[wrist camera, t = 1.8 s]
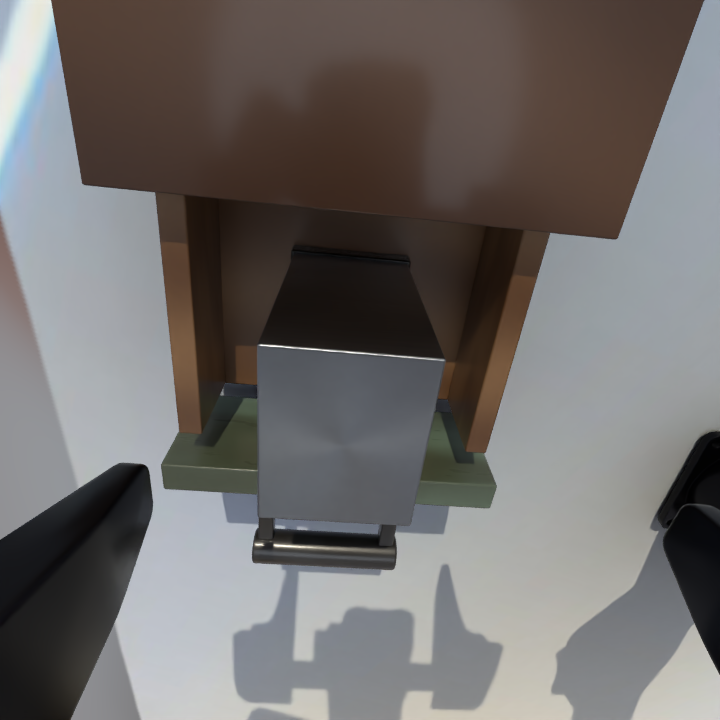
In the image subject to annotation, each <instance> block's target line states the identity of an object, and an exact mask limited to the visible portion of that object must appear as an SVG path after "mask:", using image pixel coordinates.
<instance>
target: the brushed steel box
mask: <svg viewBox="0 0 720 720" xmlns="http://www.w3.org/2000/svg"><path fill="white" fill-rule="evenodd" d="M410 265H411V261H410V259H409V257H408V256H406V255H396V254H386V253H376V252H365V251H355V250H345V249H334V248H324V247H314V246H303V245H294V246H293V248H292V250H291V263H290V265H289V268H288V270H287V273H286V275H285V278H284V280H283V282H282V285H281V287H280V290H279V292H278V295H277V297H276V300H275V302H274V305H273V307H272V310H271V312H270V315H269V317H268V320H267V322H266V325H265V327H264V330H263V332H262V335H261V337H260V340H259V342H258V345H257V511H258V517H260V518H278V519H295V520H313V521H330V522H348V523H366V524H383V525H401V526H410V524H411V520H412V515H413V511H414V506H415V502H416V497H417V492H418V488H419V483H420V478H421V474H422V469H423V465H424V460H425V455H426V451H427V446H428V441H429V437H430V432H431V427H432V423H433V418H434V414H435V409H436V404H437V400H438V395H439V390H440V386H441V381H442V377H443V372H444V367H445V363H446V359H445V357H444V354H443V352H442V349H441V347H440V344H439V342H438V339H437V337H436V334H435V332H434V329H433V327H432V324H431V322H430V319H429V317H428V314H427V312H426V309H425V307H424V304H423V302H422V299H421V297H420V294H419V292H418V289H417V287H416V284H415V282H414V279H413V277H412V274H411V272H410Z"/></svg>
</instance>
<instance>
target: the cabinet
mask: <svg viewBox="0 0 720 720" xmlns="http://www.w3.org/2000/svg"><path fill="white" fill-rule="evenodd" d="M51 2H52V8H53V14H54V19H55V25H56V31H57V37H58V43H59V49H60V55H61V61H62V67H63V73H64V78H65V84H66V90H67V96H68V102H69V108H70V114H71V120H72V126H73V132H74V137H75V143H76V149H77V155H78V161H79V167H80V173H81V179H82V183H83V184H84V185H89V186H99V187H108V188H118V189H128V190H138V191H147V192H157V193H167V194H177V195H186V196H196V197H206V198H216V199H225V200H235V201H245V202H254V203H264V204H274V205H284V206H293V207H303V208H313V209H323V210H332V211H342V212H352V213H362V214H371V215H381V216H391V217H401V218H410V219H420V220H430V221H440V222H449V223H459V224H469V225H479V226H488V227H498V228H508V229H518V230H527V231H537V232H547V233H557V234H566V235H576V236H586V237H596V238H605V239H617V238H618V236H619V233H620V230H621V228H622V225H623V222H624V219H625V217H626V214H627V211H628V208H629V206H630V203H631V200H632V197H633V195H634V192H635V189H636V186H637V184H638V181H639V178H640V175H641V173H642V170H643V167H644V164H645V161H646V159H647V156H648V153H649V150H650V148H651V145H652V142H653V139H654V137H655V134H656V131H657V128H658V126H659V123H660V120H661V117H662V115H663V112H664V109H665V106H666V104H667V101H668V98H669V95H670V93H671V90H672V87H673V84H674V82H675V79H676V76H677V73H678V71H679V68H680V65H681V62H682V60H683V57H684V54H685V51H686V49H687V46H688V43H689V40H690V38H691V35H692V32H693V29H694V26H695V24H696V21H697V18H698V15H699V13H700V10H701V7H702V4H703V2H704V0H51Z"/></svg>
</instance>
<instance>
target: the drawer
mask: <svg viewBox="0 0 720 720" xmlns="http://www.w3.org/2000/svg"><path fill="white" fill-rule="evenodd" d="M155 194H156V204H157V214H158V224H159V234H160V244H161V254H162V264H163V274H164V284H165V294H166V304H167V314H168V324H169V334H170V344H171V354H172V364H173V374H174V384H175V394H176V404H177V413H178V423H179V432H178V434H177V436H176V438H175V440H174V442H173V444H172V445H171V447H170V449H169V451H168V453H167V455H166V457H165V458H164V460H163V462H162V464H161V469H162V476H163V484H164V488H165V489H175V490H192V491H208V492H225V493H241V494H257V398H246V397H233V396H220V394H221V392H222V389H223V387H224V385H225V383H235V384H249V385H257V345H258V342H259V340H260V337H261V335H262V332H263V330H264V327H265V325H266V322H267V320H268V317H269V315H270V312H271V310H272V307H273V305H274V302H275V300H276V297H277V295H278V292H279V290H280V287H281V285H282V282H283V280H284V278H285V275H286V273H287V270H288V268H289V265H290V263H291V250H292V248H293V246H294V245H303V246H314V247H324V248H334V249H345V250H355V251H365V252H376V253H386V254H396V255H406V256H408V257H409V259H410V261H411V265H410V272H411V274H412V277H413V279H414V282H415V284H416V287H417V289H418V292H419V294H420V297H421V299H422V302H423V304H424V307H425V309H426V312H427V314H428V317H429V319H430V322H431V324H432V327H433V329H434V332H435V334H436V337H437V339H438V342H439V344H440V347H441V349H442V352H443V354H444V357H445V359H446V363H445V367H444V372H443V377H442V381H441V386H440V390H439V395H438V399H446V400H448V403H449V406H450V409H451V412H452V413H448V412H435V414H434V418H433V423H432V427H431V432H430V437H429V441H428V446H427V451H426V455H425V460H424V465H423V469H422V474H421V478H420V483H419V488H418V492H417V497H416V502H415V504H424V505H440V506H457V507H474V508H490V506H491V503H492V500H493V497H494V494H495V491H496V487H497V485H496V483H495V480H494V478H493V475H492V473H491V470H490V468H489V465H488V463H487V460H486V458H485V455H484V453H485V452H486V450H487V447H488V443H489V440H490V436H491V433H492V430H493V426H494V423H495V419H496V416H497V413H498V409H499V406H500V402H501V399H502V396H503V392H504V389H505V385H506V382H507V378H508V375H509V372H510V368H511V365H512V361H513V358H514V355H515V351H516V348H517V344H518V341H519V338H520V334H521V331H522V327H523V324H524V320H525V317H526V314H527V310H528V307H529V303H530V300H531V297H532V293H533V290H534V286H535V283H536V279H537V276H538V273H539V269H540V266H541V262H542V259H543V256H544V252H545V249H546V245H547V242H548V239H549V235H550V233H547V232H537V231H527V230H518V229H508V228H498V227H488V226H479V225H469V224H459V223H449V222H440V221H430V220H420V219H410V218H401V217H391V216H381V215H371V214H362V213H352V212H342V211H332V210H323V209H313V208H303V207H293V206H284V205H274V204H264V203H254V202H245V201H235V200H225V199H216V198H206V197H196V196H186V195H177V194H167V193H157V192H155ZM395 530H396V525H383V524H380V525H379V531H378V534H364V533H345V532H327V531H309V530H291V529H275V518H260V517H259V528H257V530H256V532H255V536H254V541H253V549H252V561H253V563H261V564H281V565H301V566H321V567H341V568H361V569H381V570H393V569H394V568H395V565H396V557H397V545H396V539H395V536H394V535H395Z"/></svg>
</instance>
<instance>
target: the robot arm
mask: <svg viewBox="0 0 720 720" xmlns="http://www.w3.org/2000/svg"><path fill="white" fill-rule="evenodd" d="M152 510H153V498H152V490H151V483H150V475H149V470H148V468H147V466H146V465H144V464H135V463H119V464H116V465H115V466H113V467H111V468H110V469H108V470H107V471H105V472H104V473H102V474H101V475H99V476H98V477H96V478H94V479H93V480H91V481H90V482H88V483H87V484H85V485H84V486H82V487H81V488H79V489H78V490H76V491H75V492H73V493H72V494H70V495H68V496H67V497H65V498H64V499H62V500H61V501H59V502H58V503H56V504H55V505H53V506H51V507H50V508H48V509H47V510H45V511H44V512H42V513H41V514H39V515H38V516H36V517H35V518H33V519H32V520H30V521H29V522H27V523H25V524H24V525H23V526H21V527H19V528H18V529H16V530H15V531H13V532H12V533H10V534H8V535H7V536H6V537H4V538H2V539H1V540H0V720H71V717H72V715H73V713H74V711H75V708H76V706H77V704H78V702H79V700H80V698H81V695H82V693H83V691H84V689H85V687H86V684H87V682H88V680H89V678H90V676H91V674H92V671H93V669H94V667H95V665H96V663H97V660H98V658H99V656H100V654H101V651H102V649H103V647H104V645H105V643H106V640H107V638H108V636H109V634H110V632H111V630H112V627H113V625H114V623H115V620H116V618H117V616H118V613H119V610H120V608H121V605H122V602H123V599H124V597H125V594H126V591H127V588H128V585H129V582H130V579H131V576H132V573H133V570H134V567H135V564H136V561H137V558H138V555H139V552H140V549H141V546H142V543H143V540H144V537H145V534H146V531H147V528H148V525H149V522H150V519H151V515H152ZM658 521H659V523H660V524H661V525H662V527H664V528H666V529H668V530H667V531H666V533H665V535H664V537H663V548H664V551H665V554H666V556H667V559H668V561H669V563H670V566H671V568H672V571H673V573H674V575H675V578H676V580H677V583H678V585H679V587H680V590H681V592H682V594H683V597H684V599H685V602H686V604H687V606H688V609H689V611H690V613H691V616H692V618H693V621H694V623H695V625H696V628H697V630H698V632H699V634H700V637H701V639H702V641H703V643H704V645H705V647H706V649H707V651H708V653H709V655H710V657H711V659H712V661H713V663H714V665H715V667H716V669H717V671H718V672H719V674H720V432H717V431H715V432H710V433H708V434H706V435H705V436H704V437H703V438H702V440H701V442H700V443H699V445H698V447H697V449H696V450H695V452H694V454H693V456H692V458H691V459H690V461H689V463H688V465H687V466H686V468H685V470H684V472H683V474H682V475H681V477H680V479H679V481H678V482H677V484H676V486H675V488H674V490H673V491H672V493H671V495H670V497H669V498H668V500H667V502H666V504H665V506H664V507H663V509H662V511H661V513H660V514H659V516H658Z"/></svg>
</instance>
